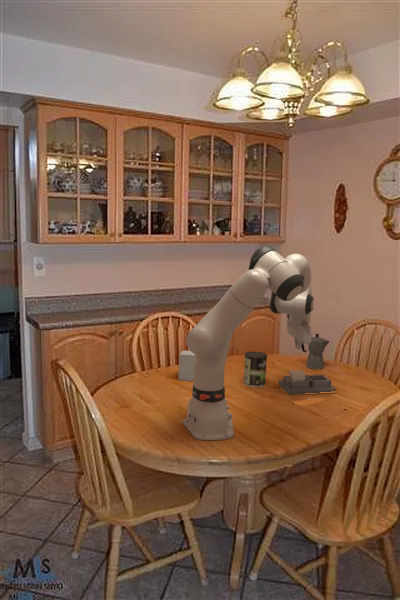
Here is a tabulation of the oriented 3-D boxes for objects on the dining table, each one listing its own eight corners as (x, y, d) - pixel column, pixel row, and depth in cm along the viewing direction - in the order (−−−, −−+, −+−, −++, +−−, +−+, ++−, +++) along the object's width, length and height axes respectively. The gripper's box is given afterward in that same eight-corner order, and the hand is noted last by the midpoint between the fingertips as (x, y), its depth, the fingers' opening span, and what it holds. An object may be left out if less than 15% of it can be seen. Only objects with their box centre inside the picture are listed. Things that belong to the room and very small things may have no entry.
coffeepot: (329, 366, 261) (331, 333, 257) (326, 371, 252) (328, 337, 249) (299, 362, 267) (302, 329, 263) (296, 367, 258) (298, 333, 255)
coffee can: (269, 383, 232) (271, 354, 230) (258, 389, 224) (259, 359, 222) (250, 378, 238) (252, 350, 236) (239, 383, 230) (240, 354, 228)
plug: (304, 386, 223) (305, 373, 222) (292, 387, 222) (293, 374, 221) (300, 383, 228) (301, 370, 227) (288, 383, 227) (289, 370, 226)
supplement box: (193, 381, 231) (194, 355, 229) (177, 380, 233) (178, 354, 230) (196, 376, 238) (197, 351, 236) (181, 375, 240) (182, 349, 238)
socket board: (335, 393, 222) (336, 382, 221) (288, 395, 218) (289, 384, 217) (322, 382, 235) (323, 372, 234) (278, 384, 231) (279, 373, 230)
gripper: (316, 323, 210) (313, 354, 213) (298, 313, 230) (296, 342, 233) (302, 323, 209) (299, 355, 212) (285, 313, 229) (283, 342, 231)
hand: (297, 348), depth 222 cm, fingers closed
